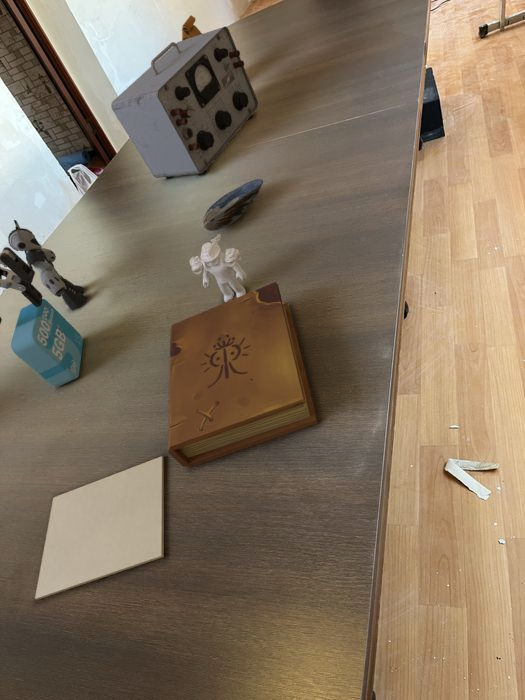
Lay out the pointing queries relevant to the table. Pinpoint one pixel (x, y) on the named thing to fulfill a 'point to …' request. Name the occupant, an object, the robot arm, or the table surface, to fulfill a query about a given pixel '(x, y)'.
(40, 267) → the robot
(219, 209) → the seashell
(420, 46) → the table surface
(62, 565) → the mat
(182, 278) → the table surface
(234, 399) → the diary
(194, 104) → the vintage electronic device
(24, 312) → the data package
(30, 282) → the robot arm
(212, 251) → the hat wearing toy figure
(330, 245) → the table surface
